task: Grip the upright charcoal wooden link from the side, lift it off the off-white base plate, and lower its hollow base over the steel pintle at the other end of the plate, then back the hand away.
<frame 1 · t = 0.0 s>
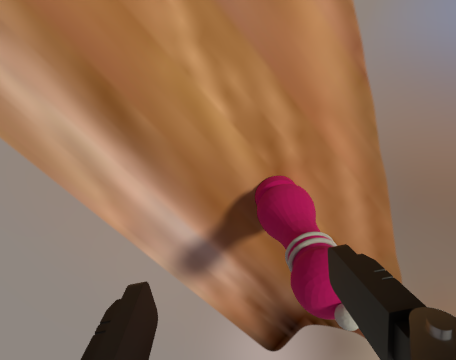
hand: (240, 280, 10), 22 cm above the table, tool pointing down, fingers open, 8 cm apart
pepper mill: (275, 194, 35), on the table
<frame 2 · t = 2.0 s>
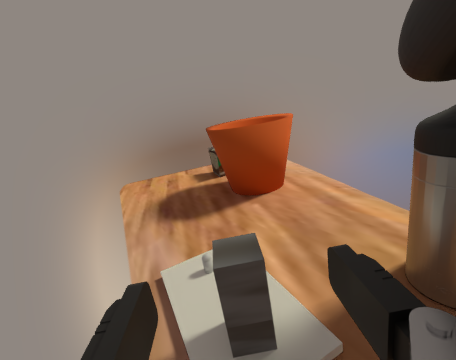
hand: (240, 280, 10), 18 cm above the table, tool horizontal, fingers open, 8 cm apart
flowerpot: (257, 185, 75), on the table
charcoal link: (251, 333, 26), point 1 cm above the table, touching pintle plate
food container: (224, 173, 95), on the table
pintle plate: (230, 305, 32), on the table
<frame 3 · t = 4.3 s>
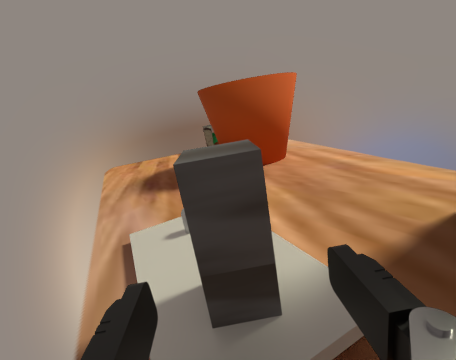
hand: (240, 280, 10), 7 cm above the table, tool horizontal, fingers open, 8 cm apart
flowerpot: (256, 159, 66), on the table
charcoal link: (243, 295, 18), point 1 cm above the table, touching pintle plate
food container: (219, 153, 86), on the table
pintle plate: (215, 267, 23), on the table
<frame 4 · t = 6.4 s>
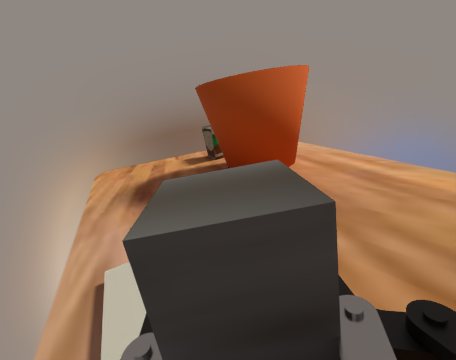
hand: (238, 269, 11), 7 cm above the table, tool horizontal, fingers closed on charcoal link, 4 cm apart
flowerpot: (261, 165, 59), on the table
food container: (220, 156, 79), on the table
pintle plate: (218, 337, 16), on the table
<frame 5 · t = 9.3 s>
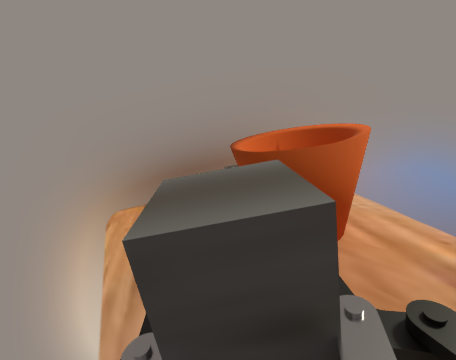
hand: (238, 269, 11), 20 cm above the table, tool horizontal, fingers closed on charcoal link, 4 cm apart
flowerpot: (302, 228, 51), on the table
when the fingers open (9 cm above the table, at t = 12.2 s): charcoal link drops 1 cm, resting on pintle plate.
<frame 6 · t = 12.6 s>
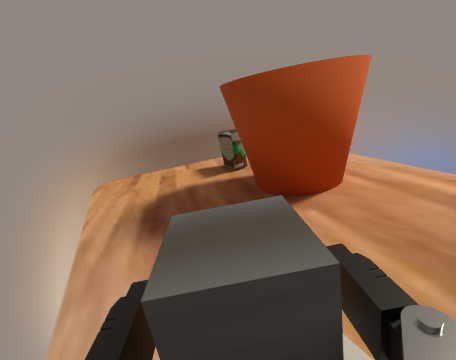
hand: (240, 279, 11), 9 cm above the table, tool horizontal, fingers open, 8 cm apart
flowerpot: (298, 181, 48), on the table
food container: (239, 166, 68), on the table
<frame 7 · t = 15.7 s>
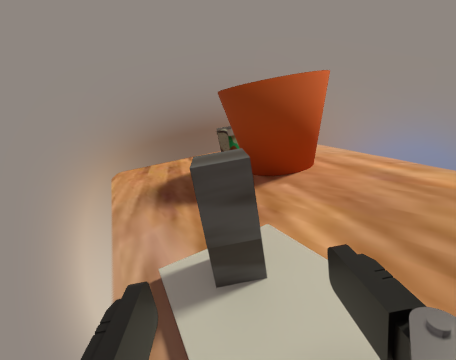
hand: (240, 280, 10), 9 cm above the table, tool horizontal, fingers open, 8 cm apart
flowerpot: (280, 166, 60), on the table
charcoal link: (238, 266, 23), point 1 cm above the table, touching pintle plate
food container: (235, 157, 81), on the table
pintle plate: (286, 328, 17), on the table
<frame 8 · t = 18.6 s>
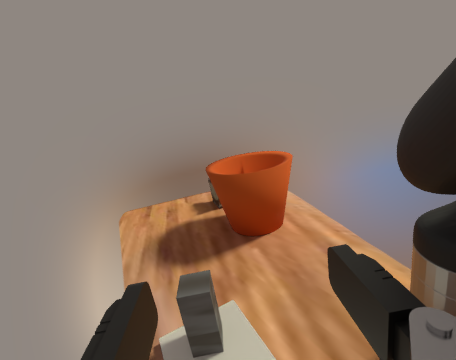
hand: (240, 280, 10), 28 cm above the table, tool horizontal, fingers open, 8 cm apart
flowerpot: (257, 222, 75), on the table
charcoal link: (208, 340, 38), point 1 cm above the table, touching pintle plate
food container: (223, 203, 95), on the table
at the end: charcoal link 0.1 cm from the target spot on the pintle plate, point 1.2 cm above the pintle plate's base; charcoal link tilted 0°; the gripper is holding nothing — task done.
